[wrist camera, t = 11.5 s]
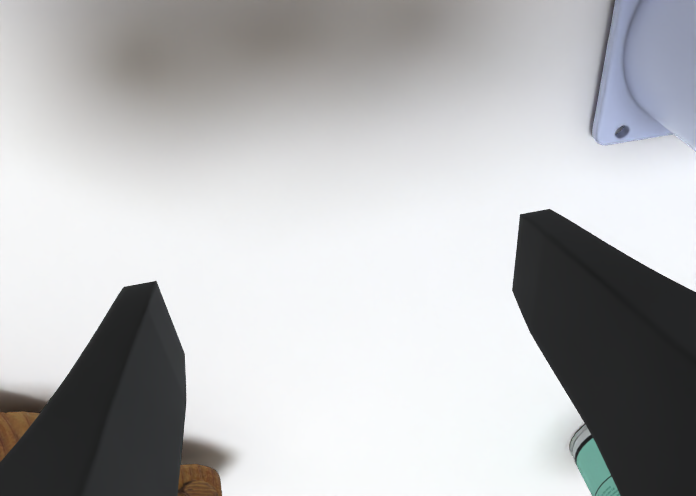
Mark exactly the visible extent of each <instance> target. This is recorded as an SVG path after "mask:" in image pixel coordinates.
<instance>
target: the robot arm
mask: <svg viewBox="0 0 696 496" xmlns="http://www.w3.org/2000/svg"><path fill="white" fill-rule="evenodd" d="M623 125H624V126H623ZM621 126H623V128H622V130H621V131H620V132H618V133H616V130H617V129H618V128H619V127H621ZM615 133H616V134H615ZM673 134H674V135H675V136H677V137H678V138H679V139H680V140H682V141H683V142H684V143H685V144H687V145H688V146H689V147H691V148H692V149H693V150H694V151H696V0H615V6H614V11H613V17H612V23H611V28H610V34H609V40H608V45H607V51H606V56H605V62H604V68H603V73H602V79H601V85H600V90H599V96H598V102H597V107H596V113H595V119H594V124H593V130H592V136H593V138H594V140H595V141H596V142H597V143H599V144H601V145H611V144H617V143H623V142H629V141H635V140H642V139H648V138H654V137H660V136H667V135H673ZM512 291H513V293H514V296H515V298H516V301H517V303H518V306H519V308H520V310H521V313H522V315H523V317H524V320H525V322H526V324H527V326H528V328H529V331H530V333H531V335H532V336H533V338H534V340H535V341H536V343H537V345H538V347H539V348H540V350H541V352H542V353H543V355H544V357H545V358H546V360H547V362H548V363H549V365H550V367H551V368H552V370H553V372H554V373H555V375H556V376H557V378H558V380H559V381H560V383H561V385H562V386H563V388H564V390H565V391H566V393H567V394H568V396H569V398H570V399H571V401H572V403H573V404H574V406H575V408H576V409H577V411H578V413H579V414H580V416H581V418H582V419H583V421H584V422H585V424H586V426H587V428H588V430H589V432H590V433H591V435H592V437H593V439H594V441H595V443H596V445H597V447H598V449H599V451H600V453H601V455H602V457H603V459H604V461H605V464H606V466H607V468H608V470H609V472H610V474H611V476H612V478H613V480H614V483H615V485H616V487H617V489H618V491H619V494H620V496H696V292H694V291H692V290H690V289H688V288H686V287H684V286H682V285H680V284H678V283H676V282H675V281H673V280H671V279H669V278H667V277H665V276H663V275H661V274H659V273H658V272H656V271H654V270H652V269H650V268H648V267H647V266H645V265H643V264H641V263H640V262H638V261H636V260H634V259H633V258H631V257H629V256H627V255H626V254H624V253H622V252H621V251H619V250H617V249H616V248H614V247H612V246H611V245H609V244H607V243H606V242H604V241H602V240H601V239H599V238H597V237H596V236H594V235H593V234H591V233H589V232H588V231H586V230H584V229H583V228H581V227H579V226H578V225H576V224H575V223H573V222H571V221H570V220H568V219H566V218H565V217H563V216H561V215H559V214H558V213H556V212H554V211H552V210H550V209H547V210H542V211H536V212H531V213H525V214H520V221H519V231H518V240H517V250H516V260H515V269H514V279H513V288H512ZM185 411H186V375H185V354H184V351H183V349H182V346H181V343H180V341H179V338H178V336H177V333H176V331H175V328H174V325H173V323H172V320H171V318H170V315H169V313H168V310H167V307H166V305H165V302H164V300H163V297H162V295H161V292H160V289H159V287H158V284H157V282H156V281H154V282H149V283H143V284H138V285H132V286H127V287H124V288H123V289H122V290H121V292H120V293H119V295H118V296H117V298H116V300H115V301H114V303H113V304H112V306H111V308H110V309H109V311H108V313H107V314H106V316H105V318H104V319H103V321H102V322H101V324H100V326H99V327H98V329H97V331H96V332H95V334H94V335H93V337H92V339H91V340H90V342H89V343H88V345H87V346H86V348H85V349H84V351H83V352H82V354H81V356H80V357H79V359H78V360H77V362H76V363H75V365H74V366H73V368H72V369H71V371H70V372H69V374H68V375H67V377H66V378H65V380H64V381H63V382H62V384H61V385H60V387H59V388H58V389H57V391H56V392H55V393H54V395H53V396H52V398H51V399H50V400H49V402H48V403H47V404H46V406H45V407H44V408H43V410H42V411H41V413H40V414H39V415H38V417H37V418H36V419H35V421H34V422H33V423H32V424H31V426H30V427H29V428H28V429H27V431H26V432H25V433H24V434H23V436H22V437H21V438H20V439H19V441H18V442H17V443H16V444H15V446H14V447H13V448H12V449H11V450H10V451H9V452H8V454H7V455H6V456H5V457H4V458H3V459H2V461H1V462H0V496H177V495H178V485H179V475H180V464H181V454H182V444H183V433H184V422H185Z"/></svg>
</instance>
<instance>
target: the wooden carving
mask: <svg viewBox="0 0 696 496" xmlns="http://www.w3.org/2000/svg"><path fill="white" fill-rule="evenodd" d="M39 414H40V413H33V412H26V411H20V412H7V413H4V412H0V462H1V461H2V459H3V458H4V457H5V456H6V455H7V454H8V452H9V451H10V450H11V449H12V448H13V447H14V446H15V444H16V443H17V442H18V441H19V439H20V438H21V437H22V436H23V434H24V433H25V432H26V431H27V429H28V428H29V427H30V426H31V424H32V423H33V422H34V421H35V419H36V418H37V417H38V415H39ZM177 496H222V491H221V482H220V477H219V474H218V473H217V472H216V470H214V469H212V468H210V467H207V466H203V465H199V464H187V465H180V475H179V485H178V495H177Z"/></svg>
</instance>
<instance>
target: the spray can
mask: <svg viewBox="0 0 696 496" xmlns="http://www.w3.org/2000/svg"><path fill="white" fill-rule="evenodd" d="M570 451H571V454H572V456H573V458H574V461H575V463H576V465H577V467H578V469H579V471H580V473H581V475H582V477H583V479H584V481H585V483H586V485H587V487H588V488H589V490H590V492H591V494H592V496H620V494H619V491H618V489H617V487H616V485H615V483H614V480H613V478H612V476H611V474H610V472H609V470H608V468H607V466H606V464H605V461H604V459H603V457H602V455H601V453H600V451H599V449H598V447H597V445H596V443H595V441H594V439H593V437H592V435H591V433H590V432H589V430H588V428H587V426H586V424H585V425H584V426H583V427H582V428H581V429H580V430H579V431H578V432H577V433H576V434H575V436H574V437H573V439H572V441H571V444H570Z"/></svg>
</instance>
